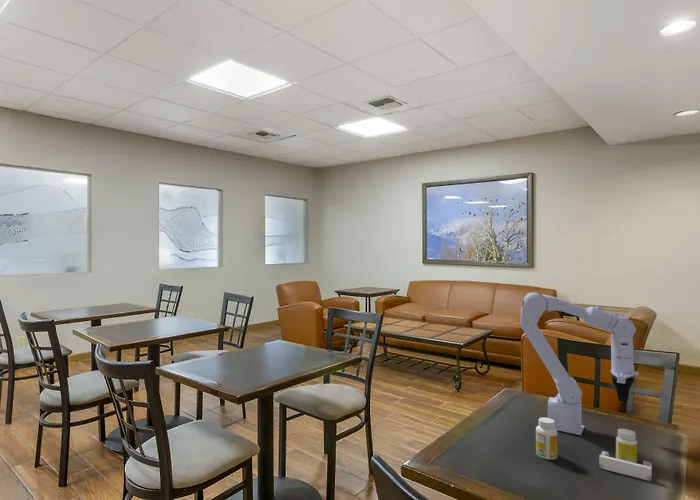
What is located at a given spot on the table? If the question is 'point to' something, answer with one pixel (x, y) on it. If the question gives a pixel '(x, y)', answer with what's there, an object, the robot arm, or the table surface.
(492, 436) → the table surface
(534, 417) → the table surface
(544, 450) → the supplement bottle
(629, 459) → the supplement bottle
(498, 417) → the table surface
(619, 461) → the drawer handle
